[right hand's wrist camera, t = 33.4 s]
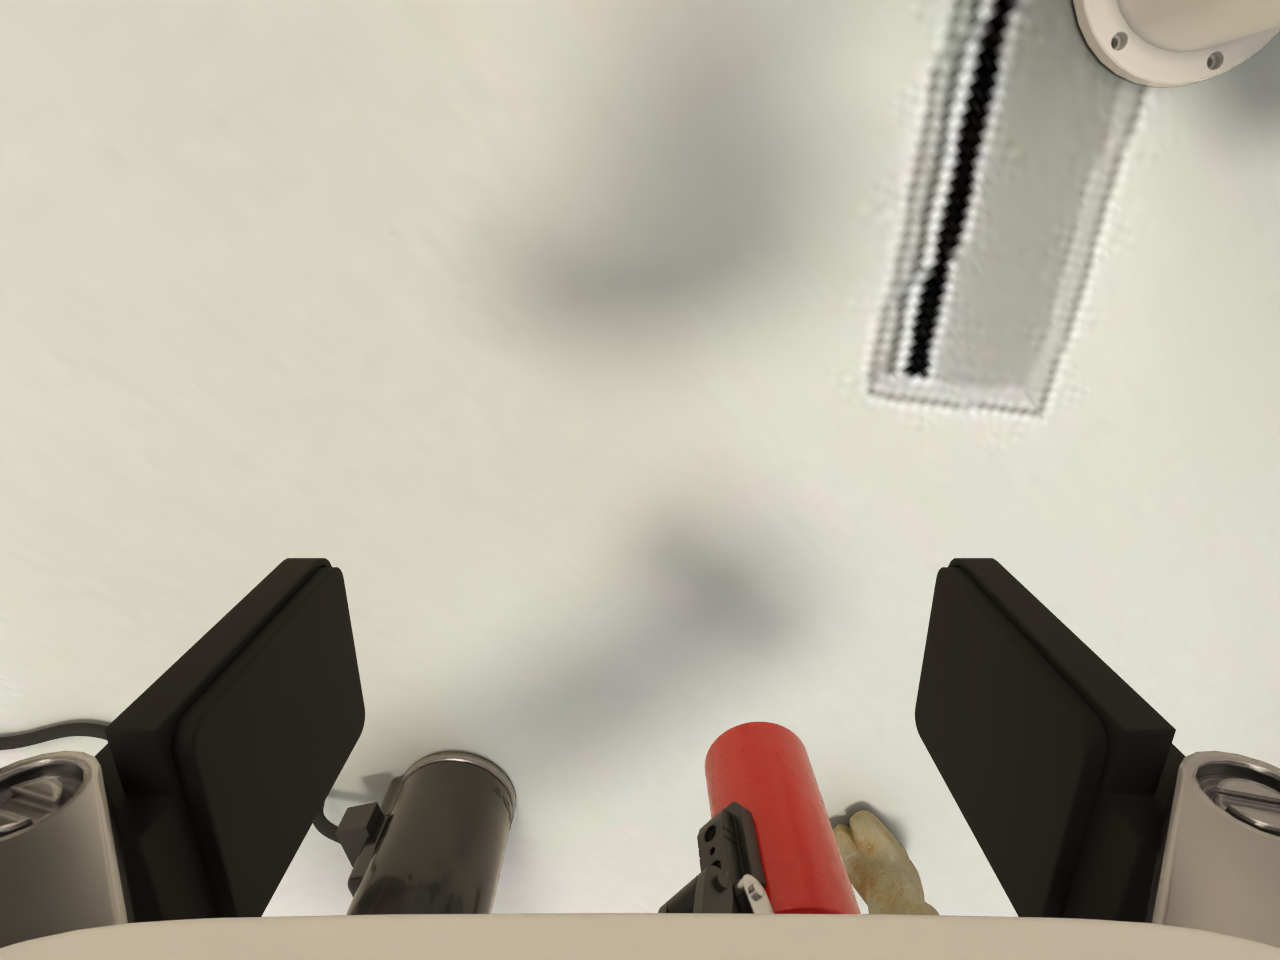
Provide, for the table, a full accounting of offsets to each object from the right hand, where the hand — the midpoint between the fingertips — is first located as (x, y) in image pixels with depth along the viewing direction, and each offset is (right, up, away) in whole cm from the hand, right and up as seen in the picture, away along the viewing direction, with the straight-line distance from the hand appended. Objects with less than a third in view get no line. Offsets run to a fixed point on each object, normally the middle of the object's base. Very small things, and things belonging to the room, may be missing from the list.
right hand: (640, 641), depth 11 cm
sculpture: (+19, -27, +48) cm, 58 cm away
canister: (+6, -11, +23) cm, 26 cm away
